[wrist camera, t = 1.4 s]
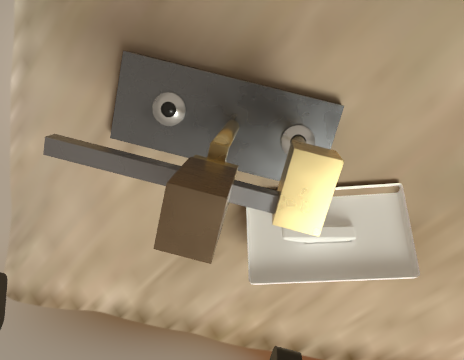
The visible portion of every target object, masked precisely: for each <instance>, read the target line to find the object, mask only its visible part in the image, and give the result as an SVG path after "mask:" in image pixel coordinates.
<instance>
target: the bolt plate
mask: <svg viewBox="0 0 464 360" xmlns="http://www.w3.org/2000/svg"><path fill="white" fill-rule="evenodd" d="M343 108H344V106H343V105H340V104H336V103H332V102H328V101H324V100H320V99H316V98H312V97H308V96H304V95H300V94H296V93H292V92H288V91H284V90H280V89H276V88H272V87H268V86H264V85H260V84H256V83H252V82H248V81H244V80H240V79H236V78H232V77H228V76H224V75H220V74H216V73H212V72H208V71H204V70H200V69H196V68H192V67H188V66H184V65H180V64H176V63H172V62H168V61H164V60H160V59H156V58H152V57H148V56H144V55H140V54H136V53H132V52H128V51H123V56H122V63H121V69H120V76H119V83H118V89H117V96H116V103H115V109H114V116H113V123H112V130H111V136H110V138H112V139H116V140H120V141H124V142H128V143H132V144H136V145H140V146H144V147H148V148H152V149H156V150H159V151H163V152H167V153H171V154H175V155H179V156H183V157H187V158H190V157H194V155H199V156H203V157H207V156H208V152H209V147H210V143H211V141H212V140H214V138H215V137H216V136H217V135H218V133H219V132H220V131H221V130H222V128H223V127H224V126H225V125H226V123H227V122H228V121H230V120H235V121H237V122H238V124H239V130H238V132H237V134H236V136H235V138H234V140H233V142H232V143H231V145H230V147H229V151H228V155H227V159H226V162H227V163H231V164H235V165H238V169H237V170H238V171H242V172H246V173H250V174H253V175H257V176H261V177H265V178H269V179H273V180H277V181H280V179H281V176H282V172H283V169H284V165H285V162H286V158H287V155H288V151H289V148H290V144H291V141H292V139H293V138H294V137H295V136H302V137H303V138H304V140H305V142H306V143H307V144H311V145H315V146H319V147H323V148H327V149H331V146H332V143H333V140H334V137H335V133H336V130H337V127H338V124H339V121H340V118H341V115H342V111H343Z"/></svg>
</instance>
